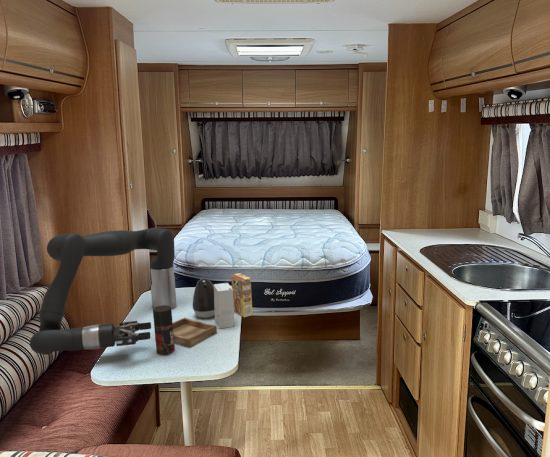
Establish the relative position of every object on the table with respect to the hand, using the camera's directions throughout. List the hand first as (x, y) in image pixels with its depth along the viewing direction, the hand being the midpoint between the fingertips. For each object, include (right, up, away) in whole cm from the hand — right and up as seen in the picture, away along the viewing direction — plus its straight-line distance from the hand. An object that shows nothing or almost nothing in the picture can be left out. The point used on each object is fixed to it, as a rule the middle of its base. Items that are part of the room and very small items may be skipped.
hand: (150, 330), depth 167 cm
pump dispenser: (+14, -1, +33) cm, 36 cm away
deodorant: (+4, -8, +2) cm, 9 cm away
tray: (+9, -5, +14) cm, 18 cm away
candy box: (+28, 0, +34) cm, 44 cm away
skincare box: (+22, -3, +24) cm, 32 cm away
